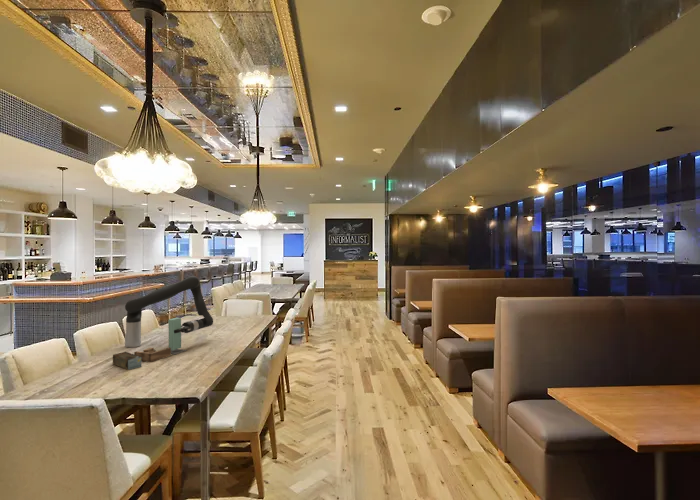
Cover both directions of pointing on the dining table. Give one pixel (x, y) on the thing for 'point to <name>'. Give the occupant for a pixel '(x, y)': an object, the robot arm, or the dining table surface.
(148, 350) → the offcut top
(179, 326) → the tall teal pillar
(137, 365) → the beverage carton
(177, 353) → the pad
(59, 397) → the dining table surface
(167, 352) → the frame
